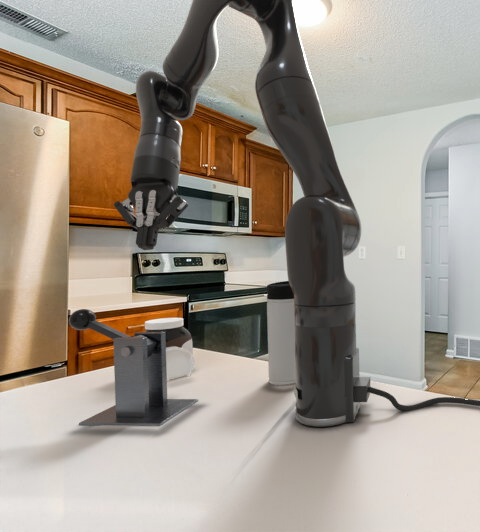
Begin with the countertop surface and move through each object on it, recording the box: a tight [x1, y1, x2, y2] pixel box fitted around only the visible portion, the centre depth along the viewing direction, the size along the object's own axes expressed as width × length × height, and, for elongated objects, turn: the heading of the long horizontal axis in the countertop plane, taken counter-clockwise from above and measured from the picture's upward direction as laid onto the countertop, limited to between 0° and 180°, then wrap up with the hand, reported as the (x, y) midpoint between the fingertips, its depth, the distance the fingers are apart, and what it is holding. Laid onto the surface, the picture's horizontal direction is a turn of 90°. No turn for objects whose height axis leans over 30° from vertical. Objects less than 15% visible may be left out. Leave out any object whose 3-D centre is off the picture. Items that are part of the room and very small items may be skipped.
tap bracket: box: [78, 331, 199, 427], centre depth 57 cm, size 12×9×13 cm
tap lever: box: [68, 308, 157, 357], centre depth 57 cm, size 13×3×3 cm, turn 88°
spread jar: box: [144, 317, 196, 383], centre depth 76 cm, size 12×11×12 cm
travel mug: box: [266, 280, 296, 387], centre depth 71 cm, size 6×7×20 cm
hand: (145, 248), depth 67 cm, fingers closed
